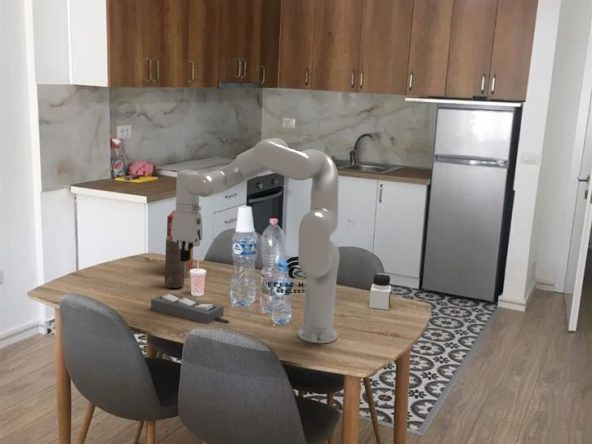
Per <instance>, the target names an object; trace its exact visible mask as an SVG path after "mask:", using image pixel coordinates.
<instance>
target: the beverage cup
mask: <svg viewBox="0 0 592 444" xmlns="http://www.w3.org/2000/svg"><path fill="white" fill-rule="evenodd" d="M199 263H200V257H197V266H196V267H197V268H193V269H191V270H190V274H189V276H190V291H191V295H192V296H195V297H200V296H204V292H205V281H206V274H207V270H206V269H204V268H200V267H199V266H200V264H199Z"/></svg>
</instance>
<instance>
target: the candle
mask: <svg viewBox="0 0 592 444" xmlns="http://www.w3.org/2000/svg"><path fill="white" fill-rule="evenodd" d="M180 254H181V249H179V245H178V244H177V243H176V242H174V241H172V236H171V237H170V236H169V237H167V236H166V237H165V258H164V259H165V262H164V263H165V266H164V285H165V287H167V288H169V289H174V288H181V287H183V286H184V285H185V278H184V262H183V261H181V257H180Z"/></svg>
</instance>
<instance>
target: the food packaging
mask: <svg viewBox="0 0 592 444" xmlns="http://www.w3.org/2000/svg"><path fill="white" fill-rule="evenodd" d="M175 210H176V209H174V210H172V212H171V213H169V215H167V217H166V218H167V220H166V221H167V222H166V225H167V227H166V238H167V237H169V236H170V237H171V236H172V235H171V229H172V219H173V214H174V211H175ZM193 251H194V247H193V248H192V249H191V254H190V260H189V261H186V262H184V279H185V278H189V276H190V270H191V269H194V267H193V262H194V261H193V260H194V259H193V257H194V256H193V255H194V253H193Z"/></svg>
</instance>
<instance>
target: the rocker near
mask: <svg viewBox="0 0 592 444" xmlns="http://www.w3.org/2000/svg"><path fill="white" fill-rule="evenodd" d="M213 304H214V303H212V304H199V305H197V306H195V308H198V309H202V310H206V311H207V310H210V309H212V308H213Z"/></svg>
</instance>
